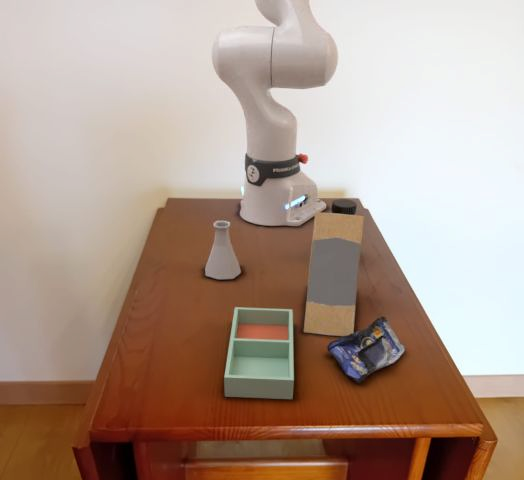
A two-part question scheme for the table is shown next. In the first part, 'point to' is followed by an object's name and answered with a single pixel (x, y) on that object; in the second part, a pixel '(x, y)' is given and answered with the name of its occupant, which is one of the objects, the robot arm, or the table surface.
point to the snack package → (366, 350)
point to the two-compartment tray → (260, 354)
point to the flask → (222, 254)
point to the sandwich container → (333, 274)
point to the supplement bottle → (344, 206)
